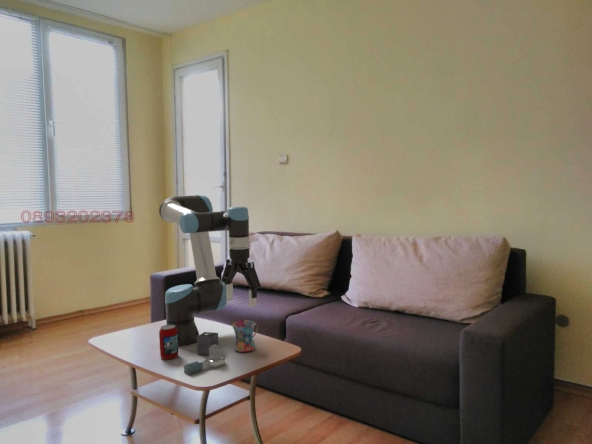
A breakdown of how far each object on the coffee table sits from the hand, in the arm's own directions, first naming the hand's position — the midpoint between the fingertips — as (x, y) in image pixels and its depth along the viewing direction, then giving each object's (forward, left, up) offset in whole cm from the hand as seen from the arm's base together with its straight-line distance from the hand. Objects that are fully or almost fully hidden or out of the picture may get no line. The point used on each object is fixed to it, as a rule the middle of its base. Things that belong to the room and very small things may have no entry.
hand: (241, 303), depth 170 cm
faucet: (-1, -16, -21) cm, 26 cm away
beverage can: (-21, -20, -21) cm, 35 cm away
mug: (-6, +6, -21) cm, 22 cm away
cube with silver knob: (-14, -7, -21) cm, 26 cm away
